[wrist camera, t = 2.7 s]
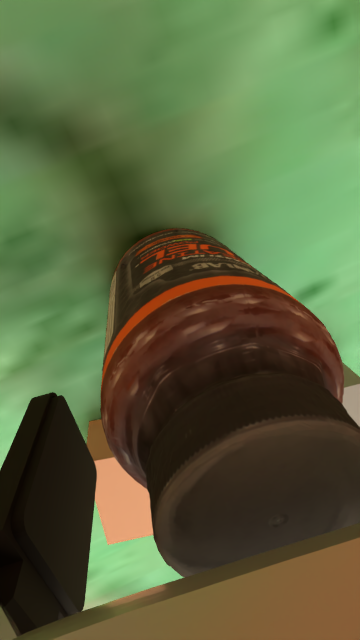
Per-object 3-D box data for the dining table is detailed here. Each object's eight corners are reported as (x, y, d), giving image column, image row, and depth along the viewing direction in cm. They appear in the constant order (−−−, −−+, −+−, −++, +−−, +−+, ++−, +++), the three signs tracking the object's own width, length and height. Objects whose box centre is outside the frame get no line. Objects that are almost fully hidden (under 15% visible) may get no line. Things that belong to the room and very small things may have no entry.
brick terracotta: (89, 418, 18) (84, 463, 15) (145, 408, 18) (150, 450, 16) (109, 495, 20) (108, 544, 18) (158, 485, 21) (163, 532, 18)
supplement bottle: (234, 216, 15) (503, 326, 4) (237, 336, 17) (413, 581, 7) (96, 234, 14) (41, 410, 4) (120, 356, 16) (126, 659, 6)
